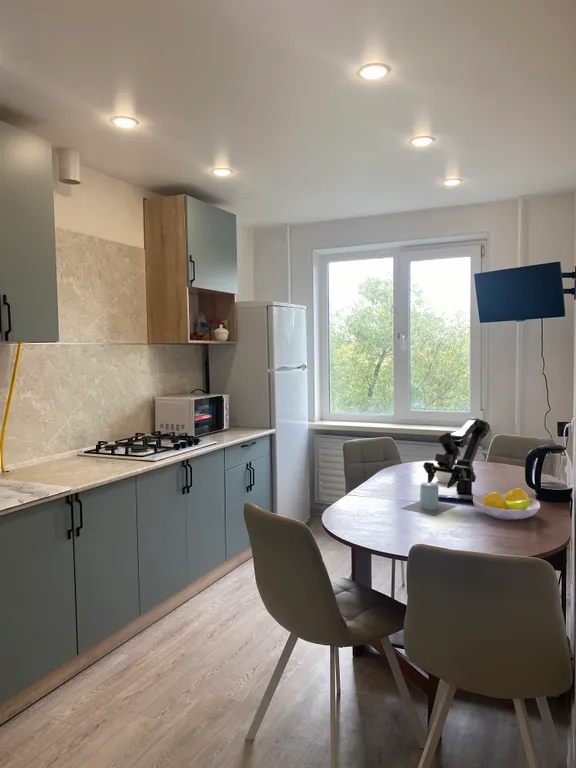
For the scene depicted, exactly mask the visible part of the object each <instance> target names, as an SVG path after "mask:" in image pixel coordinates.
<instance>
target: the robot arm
mask: <svg viewBox="0 0 576 768" xmlns="http://www.w3.org/2000/svg"><path fill="white" fill-rule="evenodd" d="M490 430H491V425H490V424H489V422H488V421H484V420H481V419H480V418H478V417H468V418H467V421H466V422H465V423H464V424H463V425H462V426H461V428H460V429H459V430H457V431H453V432H452V433H451V432H445V434H442V435H441V436H440V437H439V438H438V442H439V444H440V446H441V448H442V449H443V451H444V454H440V453H436V454H435V459H434V461H435V462H436V463H437V464H436V465H439V467H437V466H436V465H435V464H434V463H433V462H429V461H426V462H425V461H424V463H423V465H422V467H423V468H424V471H425V472H426V474H427V483H433V480H434V478H435V477H436V476H435V473H436V471H440V472H445V473H451V474H452V475H451V478H450V480H449V482H448V483H447V485H446V488H447V489H450V488H451V487H452V486H454V485H455V484H456V486H455V489H456V493H457V495H467V496H473V483H475V482H476V478H477V475H476V473H475V472H474V470H475V469H474V465H473V463H474V460H475V457H476V456H477V453H478V451H479V447H480V444H481V441H482V440H483V439H484V438H485V437H487V436H488V434H489V432H490ZM470 435H471V436H470ZM469 436H470V439H469V442H468V440H467V439H468V437H469ZM466 445H467V446H466ZM465 446H466V449H465V451H464V454H463V457H462V458H461V459H458V457H459V456H460V457H461V451H460V449H459V448H465ZM453 466H455V467H454V469H453Z"/></svg>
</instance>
